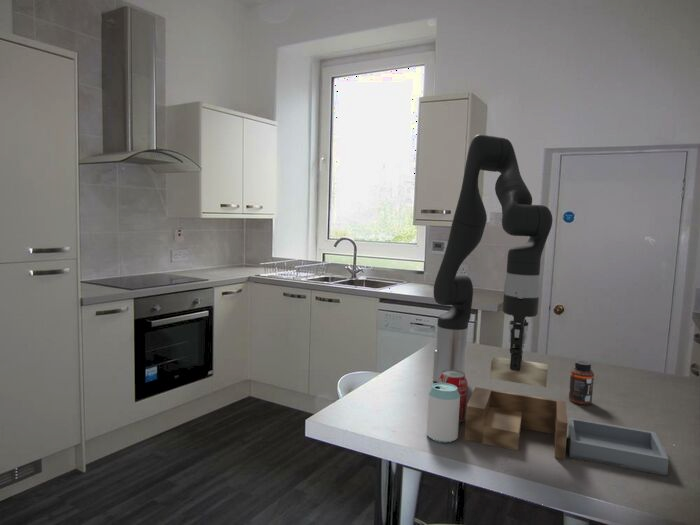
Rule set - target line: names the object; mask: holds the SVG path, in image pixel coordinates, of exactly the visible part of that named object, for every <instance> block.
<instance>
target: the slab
mask: <svg viewBox="0 0 700 525" xmlns="http://www.w3.org/2000/svg"><path fill="white" fill-rule="evenodd" d="M510 361H511V358H508V357H507V358H506V357H500V356H492V359H491V361H490V373H489V374H490V375H489V379H491V380H497V381H503V382H509V383H516V384H524V385H529V386H537V387H543V388H547V382H548V370H549V368H548V367H549V365H548V363H543V362H536V361H528V360H522V361H521V369H520V371H513V370H511V369H510Z"/></svg>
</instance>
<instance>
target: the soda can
mask: <svg viewBox="0 0 700 525" xmlns="http://www.w3.org/2000/svg"><path fill="white" fill-rule="evenodd" d="M439 383H449V384H452V385H455V386H456V387H457V388H458V389H457V391H458V392H459V394H460V406H459V423H458V424H460V423H461V422H463V421H465V420H466V408H467V398H468V380H467V378H466V372H465V373H463V372H461V371H458V370H444V371H442V375H441V376H440V378H439Z"/></svg>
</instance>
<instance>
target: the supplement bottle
mask: <svg viewBox="0 0 700 525" xmlns="http://www.w3.org/2000/svg"><path fill="white" fill-rule="evenodd" d="M574 363H575V365H574V366H575V367H573V368H572V369H571V370H570V376H569V378H570V379H569V393H568V399H569V401H570V402H572V403H574V404H577V405H582V406H583V405H584V406H586V405H587V406H588V405H590V404H592V400H593V391H594V380H595V373H594V372H593V370H592V363H591V362H588V361H584V360H575V362H574Z"/></svg>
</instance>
